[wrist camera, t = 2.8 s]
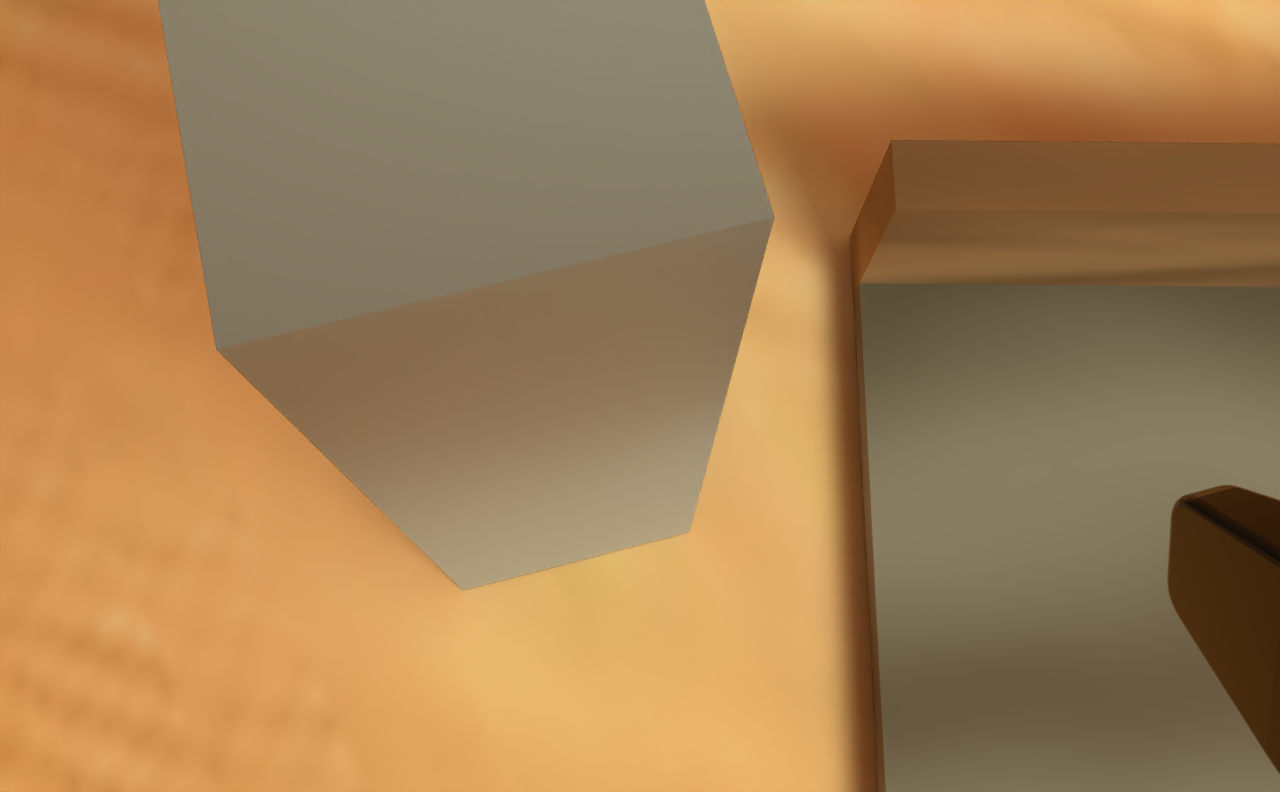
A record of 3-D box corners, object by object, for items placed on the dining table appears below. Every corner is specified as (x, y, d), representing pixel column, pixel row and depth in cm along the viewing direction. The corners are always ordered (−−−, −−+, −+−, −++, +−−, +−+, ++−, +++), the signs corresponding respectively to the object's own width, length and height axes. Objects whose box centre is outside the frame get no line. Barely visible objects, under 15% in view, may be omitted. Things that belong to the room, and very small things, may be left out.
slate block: (689, 532, 20) (774, 216, 8) (462, 590, 20) (216, 349, 8) (631, 322, 21) (633, -219, 10) (416, 374, 21) (137, -119, 9)
